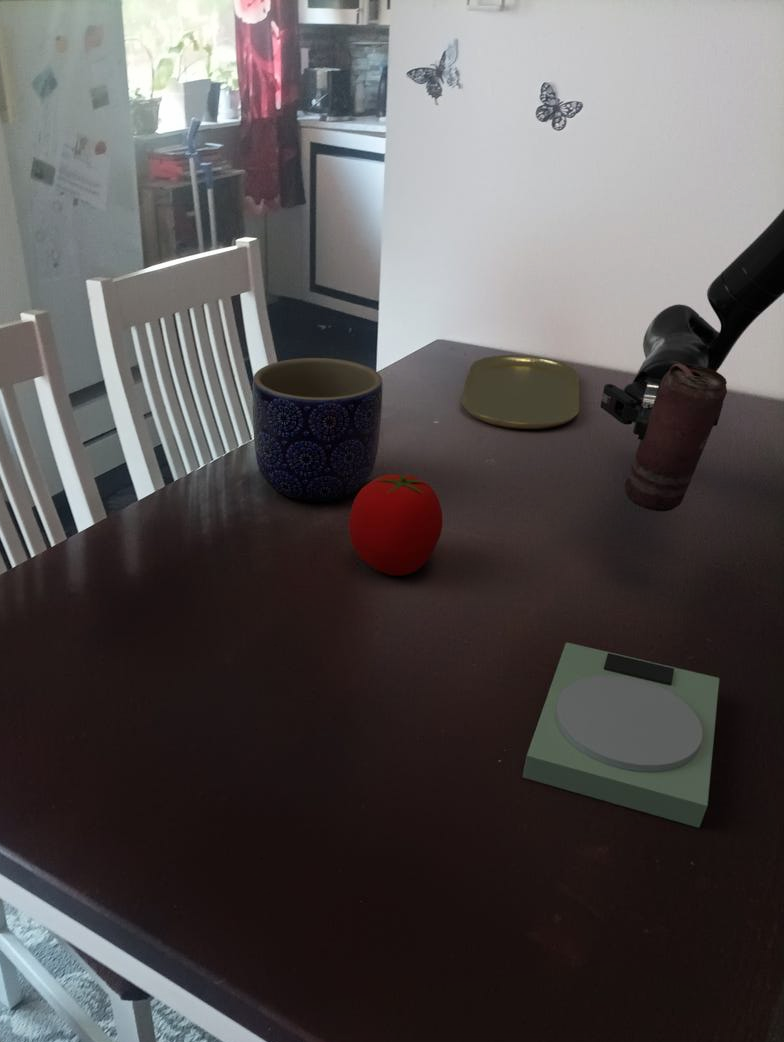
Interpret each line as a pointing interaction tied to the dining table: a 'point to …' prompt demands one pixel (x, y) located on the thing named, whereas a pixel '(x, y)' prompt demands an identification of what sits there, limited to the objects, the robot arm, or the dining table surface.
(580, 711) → the scale
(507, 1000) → the dining table surface
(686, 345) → the robot arm
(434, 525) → the tomato
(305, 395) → the planter
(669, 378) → the can
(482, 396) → the serving platter
